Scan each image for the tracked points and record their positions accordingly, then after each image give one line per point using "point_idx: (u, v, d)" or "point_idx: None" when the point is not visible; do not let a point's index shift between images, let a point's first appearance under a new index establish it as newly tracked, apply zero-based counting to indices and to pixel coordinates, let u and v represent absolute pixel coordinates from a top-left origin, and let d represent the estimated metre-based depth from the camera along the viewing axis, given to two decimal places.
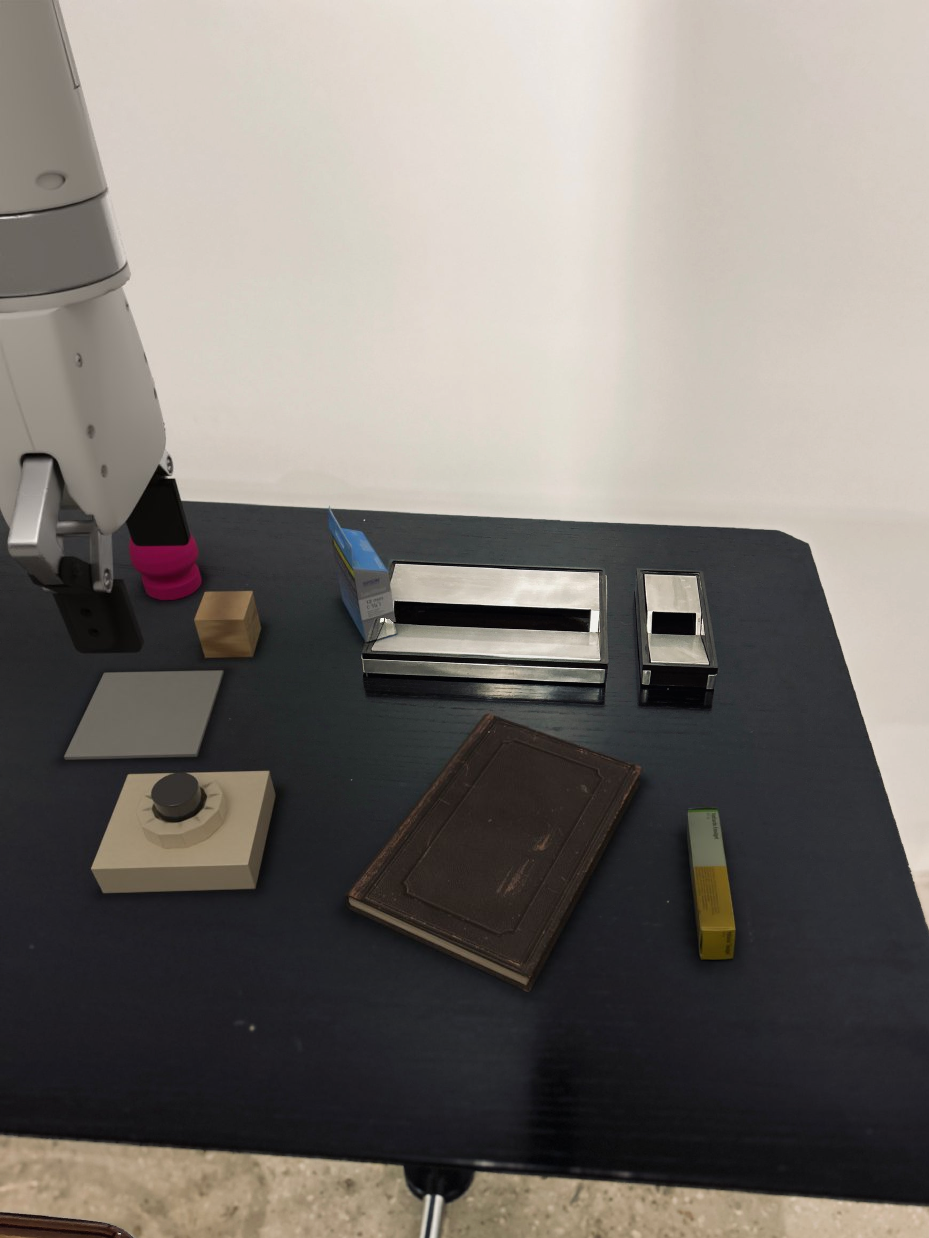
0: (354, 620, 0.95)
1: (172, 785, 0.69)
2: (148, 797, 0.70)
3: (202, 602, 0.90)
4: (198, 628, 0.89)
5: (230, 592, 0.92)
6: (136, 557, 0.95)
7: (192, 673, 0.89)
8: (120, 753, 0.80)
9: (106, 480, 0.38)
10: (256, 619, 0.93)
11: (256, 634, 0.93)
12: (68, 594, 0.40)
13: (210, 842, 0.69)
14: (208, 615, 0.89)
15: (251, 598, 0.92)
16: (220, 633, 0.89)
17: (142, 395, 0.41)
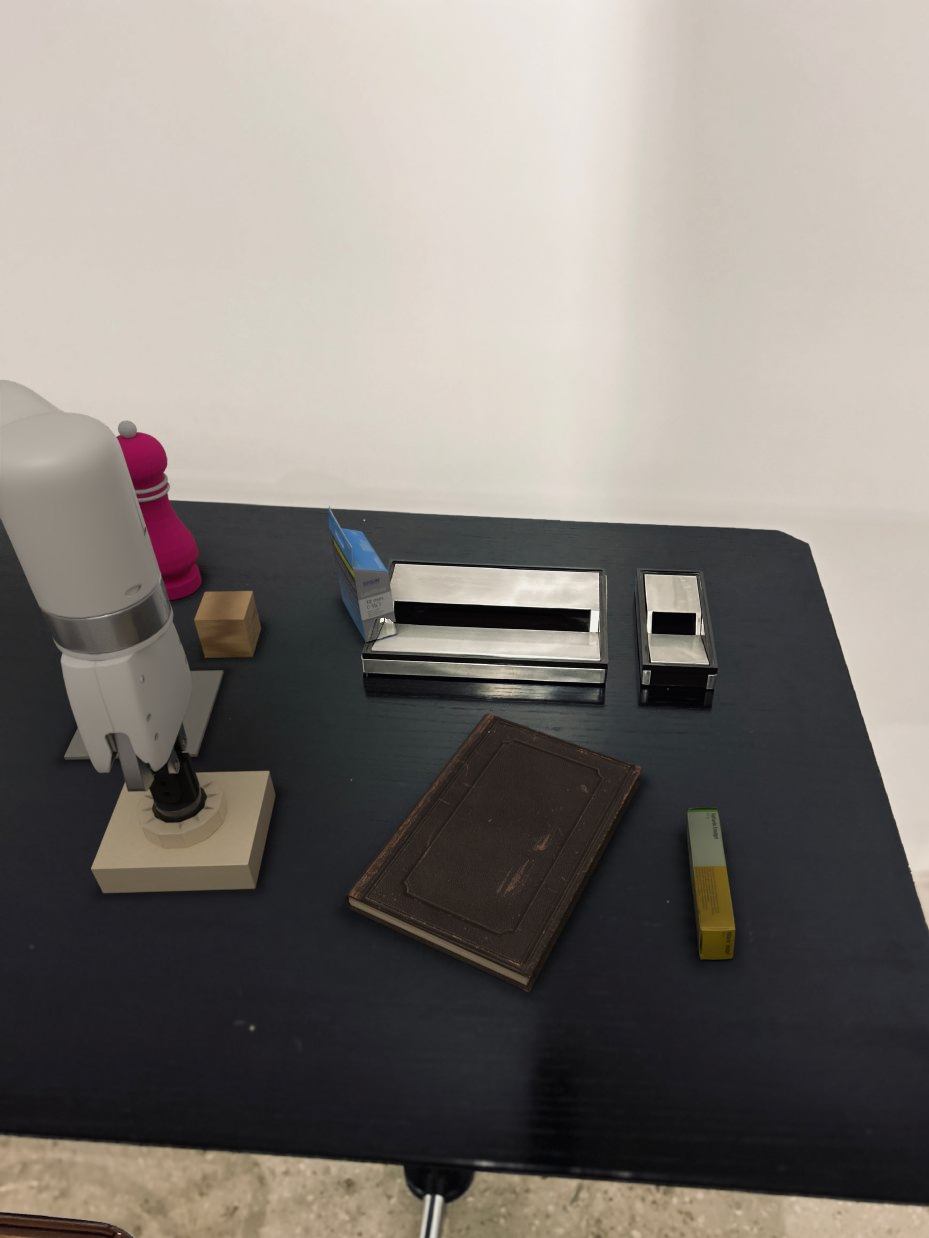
0: (354, 620, 0.95)
1: None
2: (148, 797, 0.70)
3: (202, 602, 0.90)
4: (198, 628, 0.89)
5: (230, 592, 0.92)
6: None
7: (192, 673, 0.89)
8: None
9: (157, 741, 0.60)
10: (256, 619, 0.93)
11: (256, 634, 0.93)
12: None
13: (210, 842, 0.69)
14: (208, 615, 0.89)
15: (251, 598, 0.92)
16: (220, 633, 0.89)
17: (178, 671, 0.63)
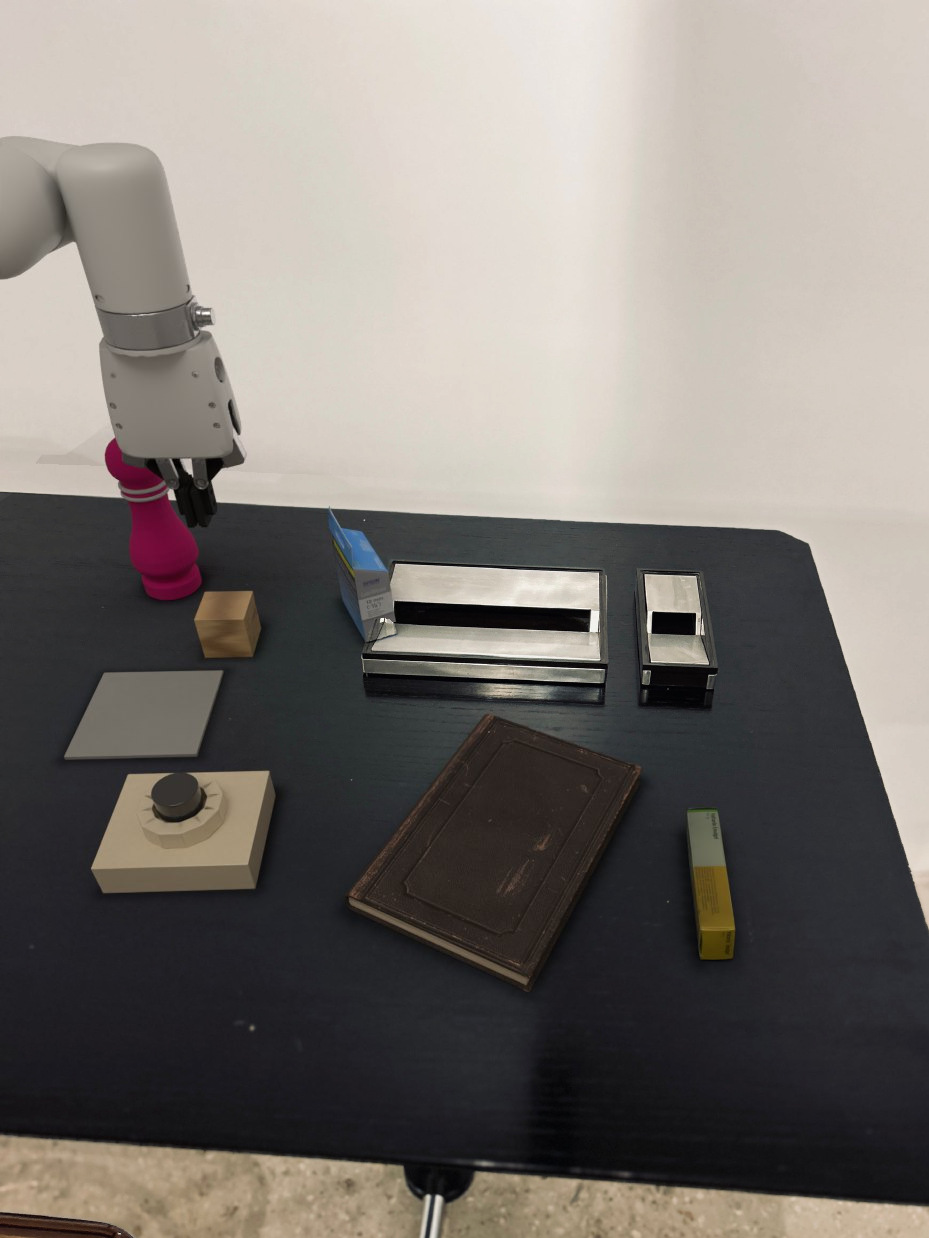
0: (354, 620, 0.95)
1: (172, 785, 0.69)
2: (148, 797, 0.70)
3: (202, 602, 0.90)
4: (198, 628, 0.89)
5: (230, 592, 0.92)
6: (136, 557, 0.95)
7: (192, 673, 0.89)
8: (120, 753, 0.80)
9: (120, 430, 0.75)
10: (256, 619, 0.93)
11: (256, 634, 0.93)
12: None
13: (210, 842, 0.69)
14: (208, 615, 0.89)
15: (251, 598, 0.92)
16: (220, 633, 0.89)
17: (184, 417, 0.74)
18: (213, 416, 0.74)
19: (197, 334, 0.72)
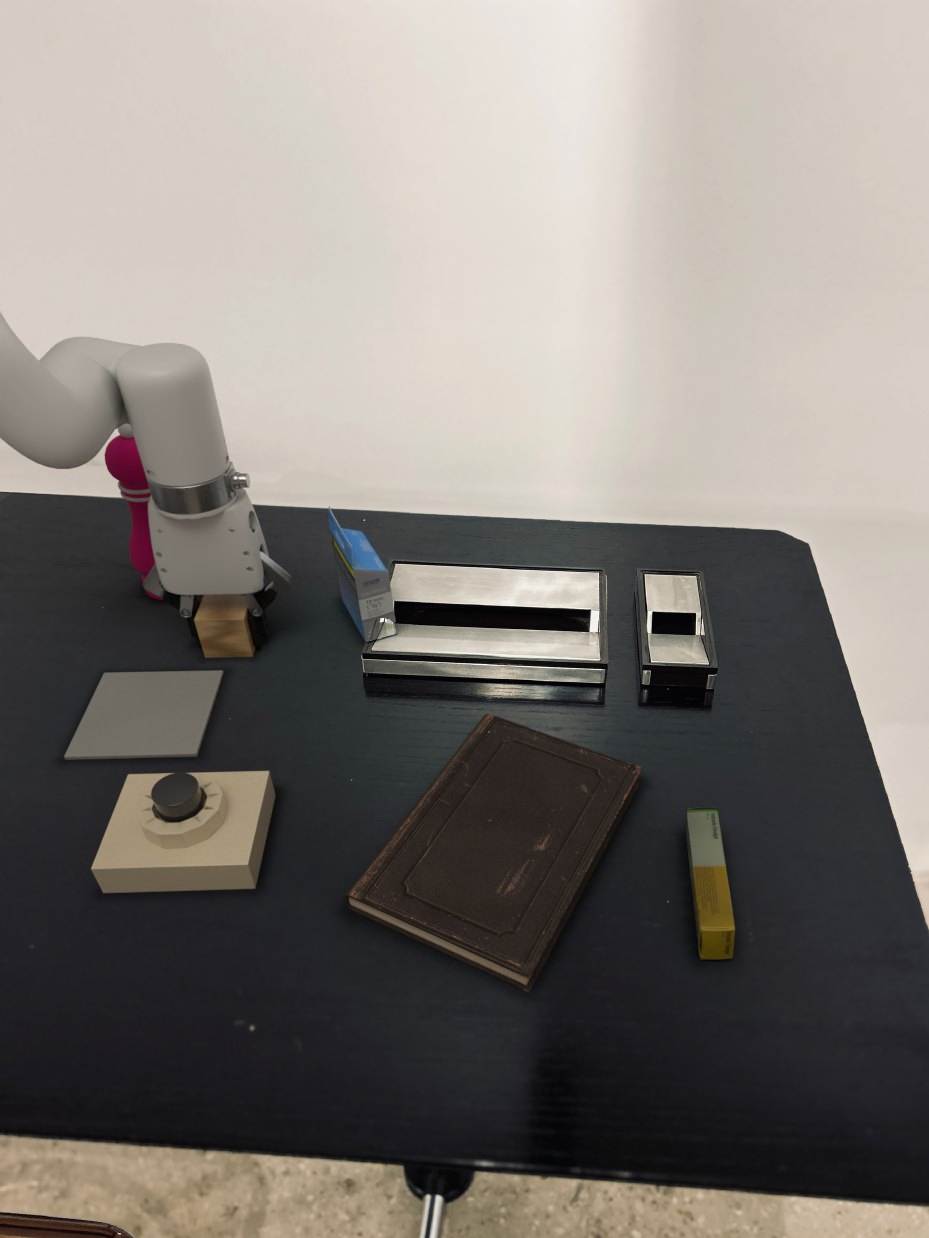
0: (354, 620, 0.95)
1: (172, 785, 0.69)
2: (148, 797, 0.70)
3: (202, 602, 0.90)
4: (198, 628, 0.89)
5: None
6: (136, 557, 0.95)
7: (192, 673, 0.89)
8: (120, 753, 0.80)
9: (164, 574, 0.85)
10: None
11: None
12: None
13: (210, 842, 0.69)
14: (208, 615, 0.89)
15: None
16: (220, 633, 0.89)
17: (222, 563, 0.84)
18: (247, 562, 0.84)
19: (234, 495, 0.81)
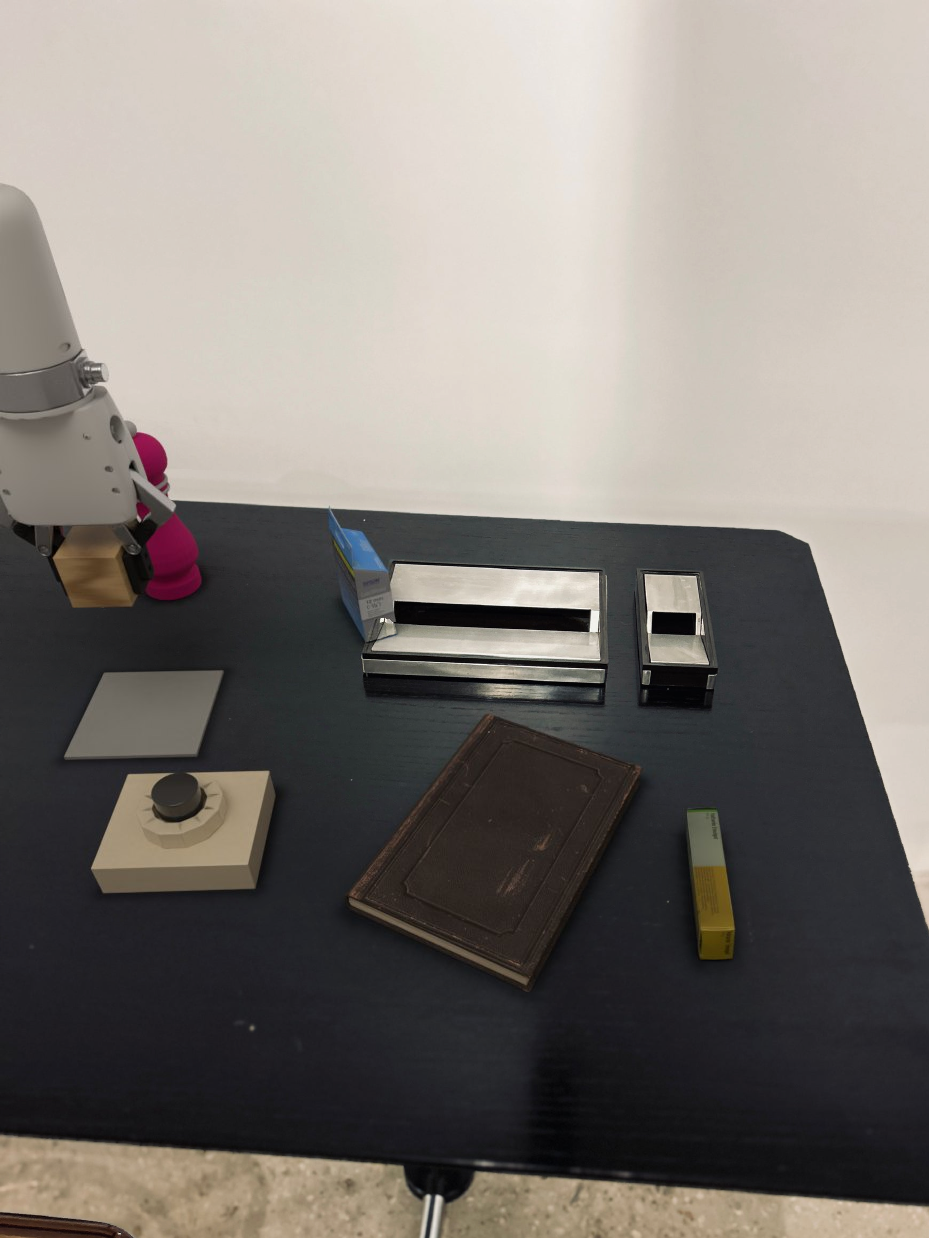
0: (354, 620, 0.95)
1: (172, 785, 0.69)
2: (148, 797, 0.70)
3: (67, 538, 0.73)
4: (59, 569, 0.71)
5: (105, 526, 0.74)
6: None
7: (192, 673, 0.89)
8: (120, 753, 0.80)
9: (8, 497, 0.67)
10: None
11: None
12: None
13: (210, 842, 0.69)
14: (71, 552, 0.71)
15: None
16: (88, 575, 0.72)
17: (79, 482, 0.66)
18: (111, 481, 0.67)
19: (88, 392, 0.64)
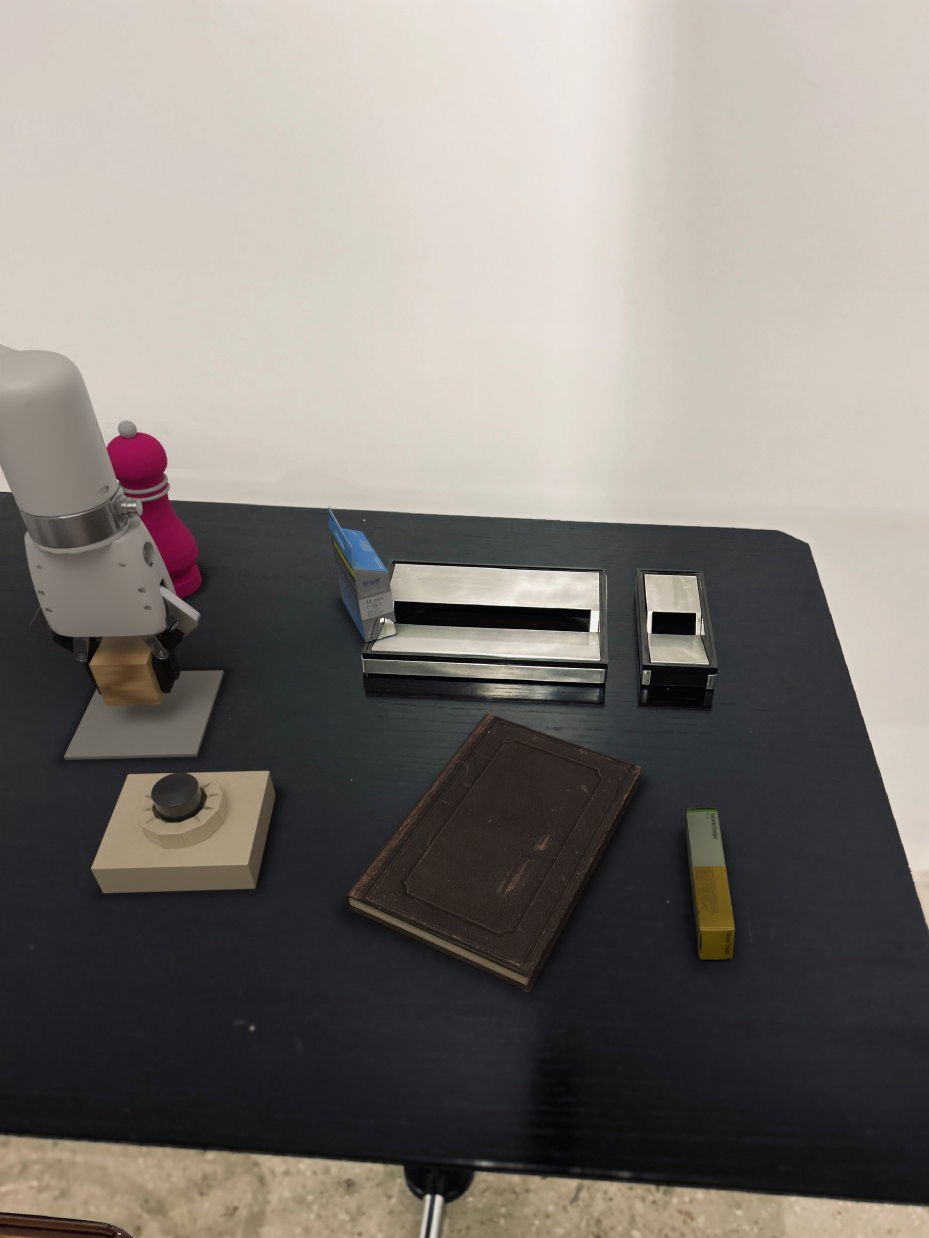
0: (354, 620, 0.95)
1: (172, 785, 0.69)
2: (148, 797, 0.70)
3: (101, 643, 0.80)
4: (95, 674, 0.78)
5: None
6: None
7: (192, 673, 0.89)
8: (120, 753, 0.80)
9: (50, 614, 0.74)
10: None
11: None
12: None
13: (210, 842, 0.69)
14: (106, 659, 0.78)
15: None
16: (120, 679, 0.79)
17: (114, 602, 0.73)
18: (143, 600, 0.74)
19: (124, 524, 0.71)
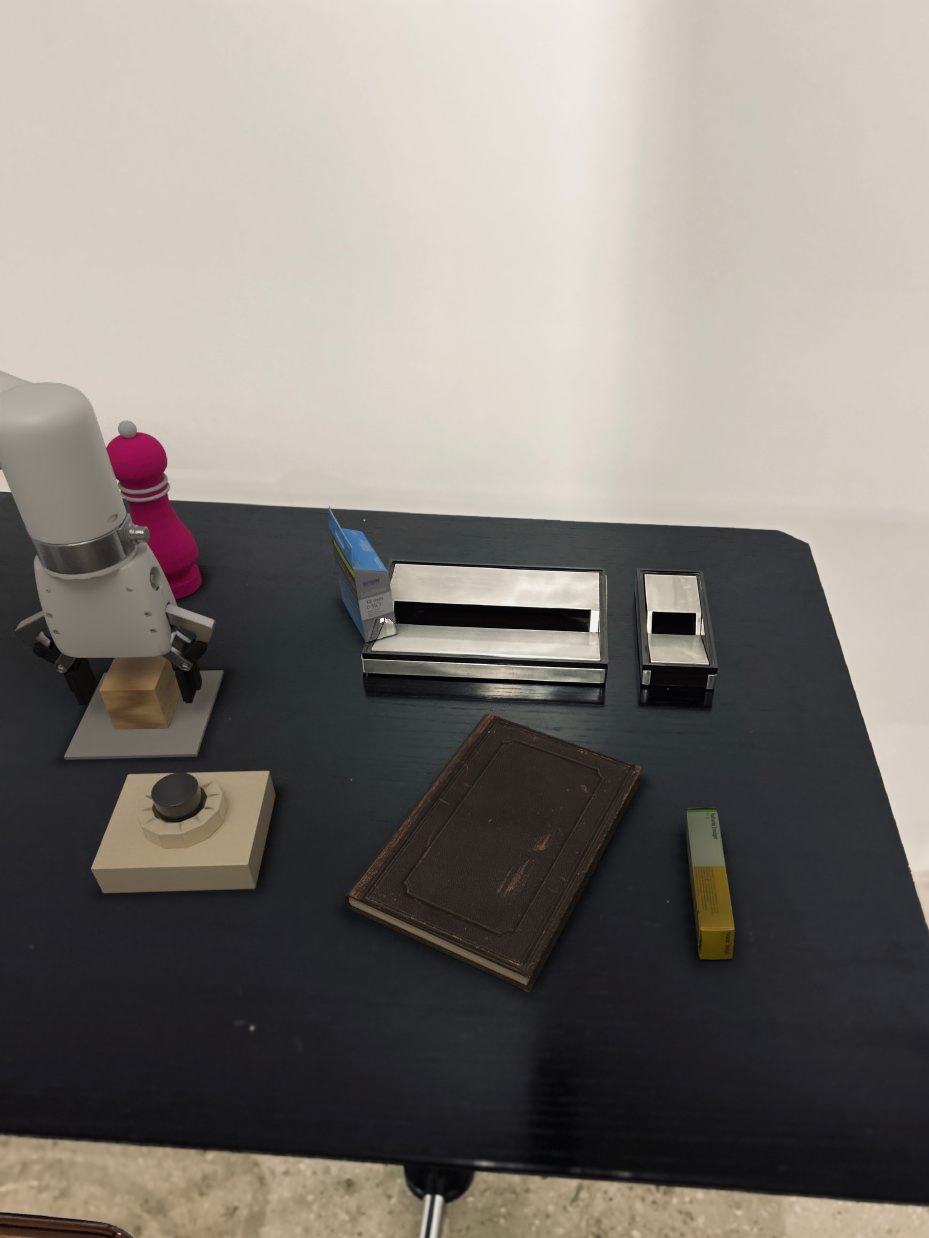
0: (354, 620, 0.95)
1: (172, 785, 0.69)
2: (148, 797, 0.70)
3: (110, 669, 0.82)
4: (104, 699, 0.80)
5: None
6: None
7: None
8: (120, 753, 0.80)
9: (57, 636, 0.76)
10: (173, 685, 0.85)
11: (173, 702, 0.85)
12: None
13: (210, 842, 0.69)
14: (115, 684, 0.80)
15: (166, 663, 0.83)
16: (129, 704, 0.81)
17: (121, 625, 0.75)
18: (149, 623, 0.75)
19: (131, 550, 0.72)
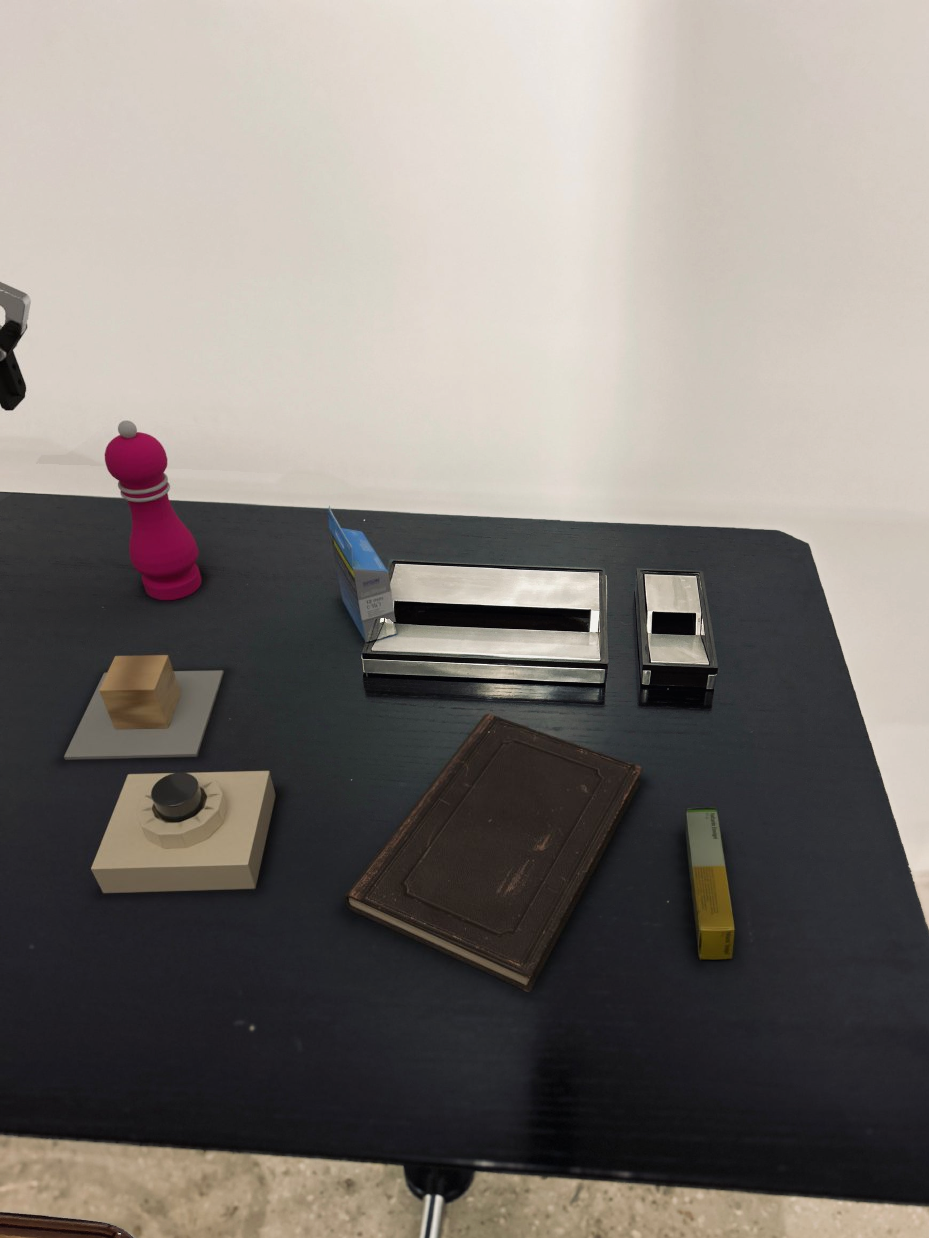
0: (354, 620, 0.95)
1: (172, 785, 0.69)
2: (148, 797, 0.70)
3: (110, 669, 0.82)
4: (104, 699, 0.80)
5: (143, 656, 0.83)
6: (136, 557, 0.95)
7: (192, 673, 0.89)
8: (120, 753, 0.80)
9: None
10: (173, 685, 0.85)
11: (173, 702, 0.85)
12: None
13: (210, 842, 0.69)
14: (115, 684, 0.80)
15: (166, 663, 0.83)
16: (129, 704, 0.81)
17: None
18: None
19: None
